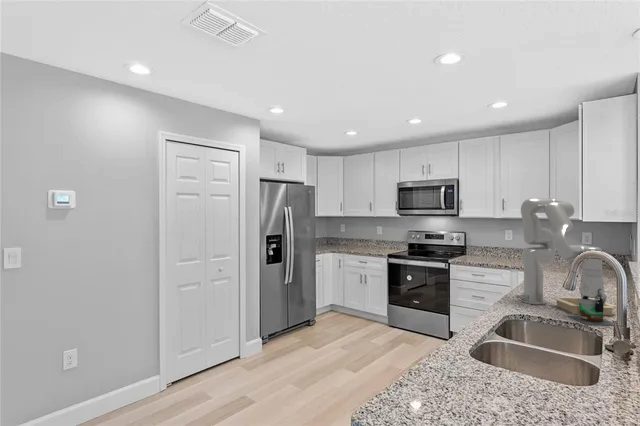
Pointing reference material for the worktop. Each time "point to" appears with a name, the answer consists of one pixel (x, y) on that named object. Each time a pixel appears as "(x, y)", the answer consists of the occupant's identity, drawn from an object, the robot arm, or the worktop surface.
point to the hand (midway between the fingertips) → (592, 309)
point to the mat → (602, 323)
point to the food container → (589, 310)
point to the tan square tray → (573, 306)
